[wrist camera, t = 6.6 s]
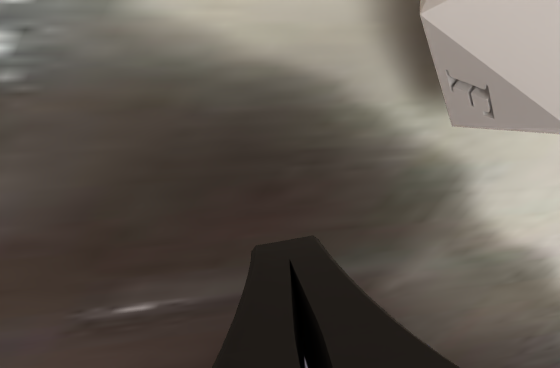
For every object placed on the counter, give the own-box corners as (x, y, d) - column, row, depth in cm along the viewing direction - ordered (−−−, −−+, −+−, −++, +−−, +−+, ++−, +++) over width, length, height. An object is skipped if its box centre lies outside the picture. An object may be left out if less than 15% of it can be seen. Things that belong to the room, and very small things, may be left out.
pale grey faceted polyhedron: (398, -156, 17) (362, 45, 12) (731, -285, 13) (880, -62, 8) (444, 29, 23) (433, 214, 18) (682, -19, 19) (751, 201, 14)
